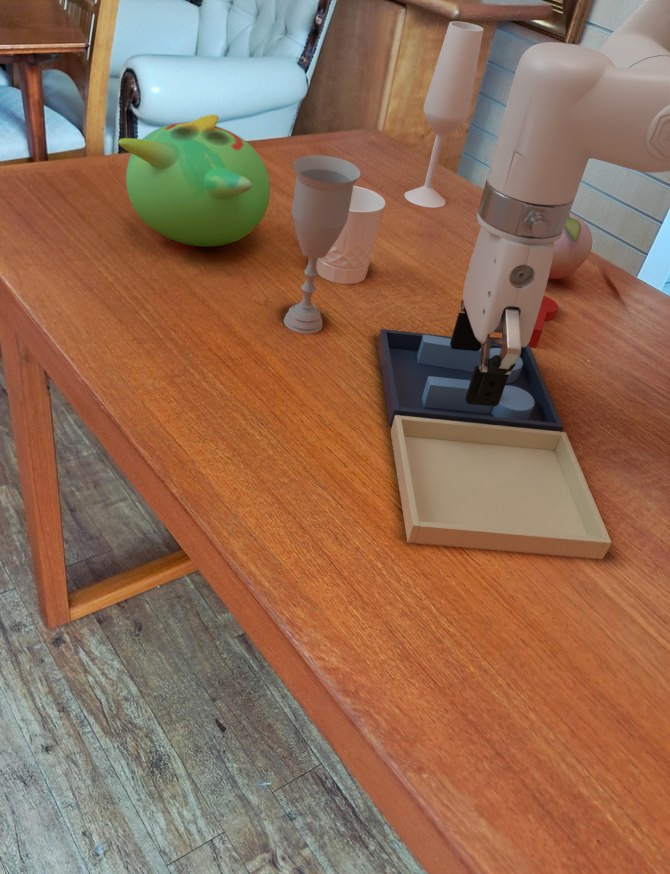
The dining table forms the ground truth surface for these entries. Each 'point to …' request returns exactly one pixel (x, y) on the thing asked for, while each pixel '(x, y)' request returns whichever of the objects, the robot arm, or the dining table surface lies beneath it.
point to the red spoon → (543, 319)
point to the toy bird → (197, 183)
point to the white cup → (354, 240)
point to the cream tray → (494, 489)
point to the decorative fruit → (571, 248)
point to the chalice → (318, 223)
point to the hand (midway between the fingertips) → (472, 374)
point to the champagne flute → (449, 98)
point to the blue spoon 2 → (453, 398)
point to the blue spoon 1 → (456, 356)
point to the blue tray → (410, 378)
